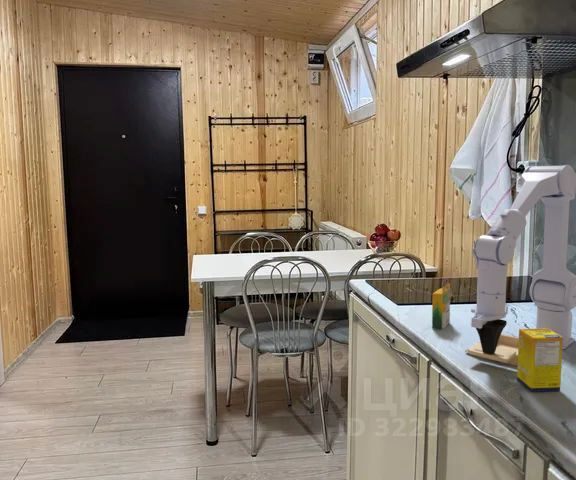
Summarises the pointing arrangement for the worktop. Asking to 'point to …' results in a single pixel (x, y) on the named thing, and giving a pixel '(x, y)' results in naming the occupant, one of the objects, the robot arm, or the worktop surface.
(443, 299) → the crayon box
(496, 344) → the robot arm
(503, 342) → the carton
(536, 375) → the supplement box
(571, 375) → the worktop surface
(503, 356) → the flap
